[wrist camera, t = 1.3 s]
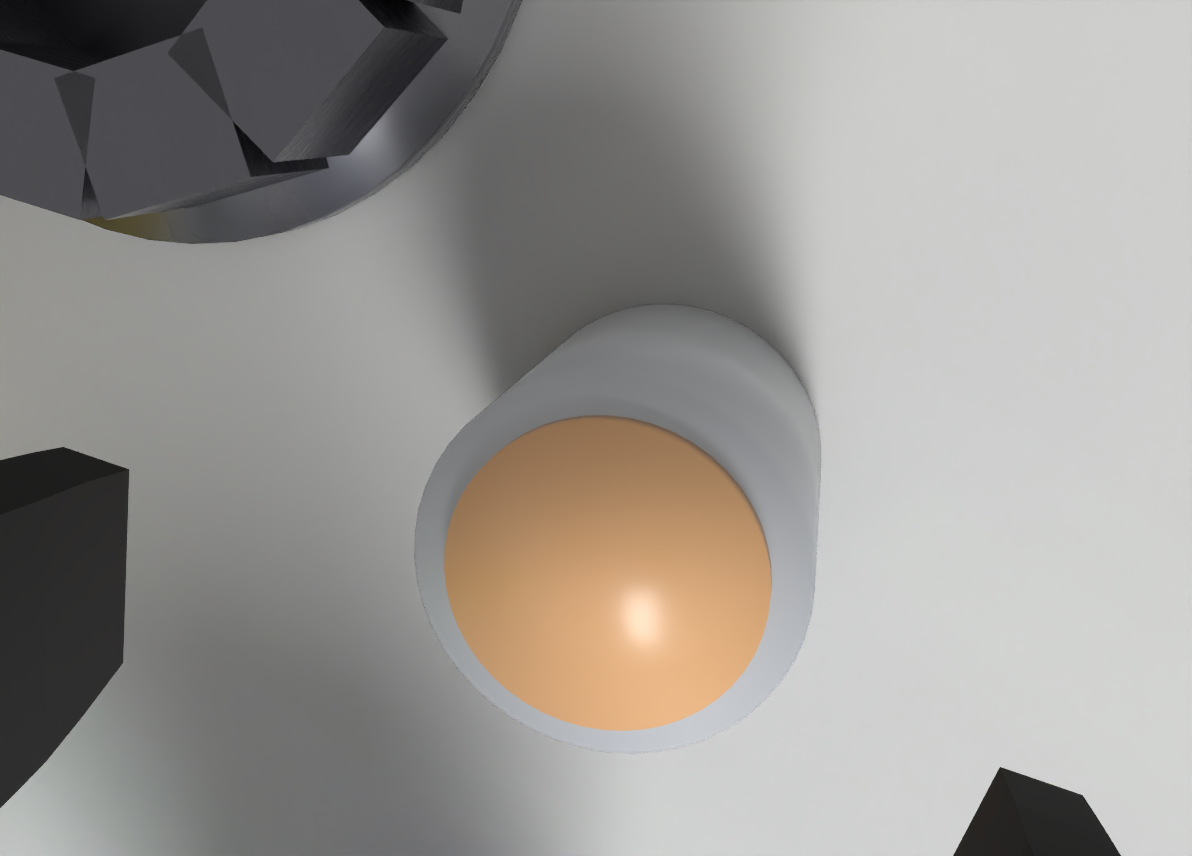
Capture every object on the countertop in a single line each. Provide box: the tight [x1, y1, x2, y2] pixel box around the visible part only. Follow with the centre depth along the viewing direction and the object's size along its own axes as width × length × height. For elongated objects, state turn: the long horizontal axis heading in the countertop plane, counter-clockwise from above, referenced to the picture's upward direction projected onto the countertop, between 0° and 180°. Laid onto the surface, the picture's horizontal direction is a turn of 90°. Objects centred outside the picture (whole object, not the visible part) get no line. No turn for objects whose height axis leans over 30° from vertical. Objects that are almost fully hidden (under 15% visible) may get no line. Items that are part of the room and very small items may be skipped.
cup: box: [415, 304, 821, 754], centre depth 16 cm, size 5×5×5 cm
